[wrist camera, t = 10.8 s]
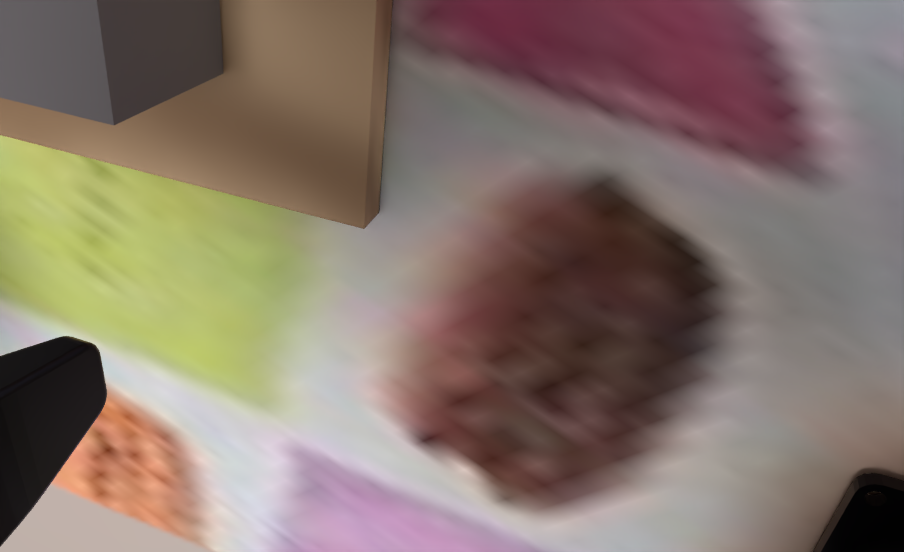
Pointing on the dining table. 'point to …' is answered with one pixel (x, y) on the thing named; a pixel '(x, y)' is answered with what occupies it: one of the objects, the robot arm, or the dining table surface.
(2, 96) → the plug housing
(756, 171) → the dining table surface
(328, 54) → the pin board
